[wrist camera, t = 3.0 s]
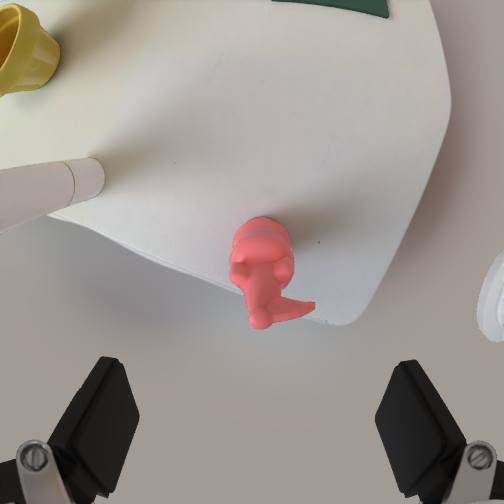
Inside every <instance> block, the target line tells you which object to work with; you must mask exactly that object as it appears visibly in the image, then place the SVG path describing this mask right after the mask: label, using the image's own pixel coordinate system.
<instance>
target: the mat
mask: <svg viewBox="0 0 504 504" xmlns="http://www.w3.org/2000/svg"><path fill="white" fill-rule="evenodd" d="M272 1H283V2H297V3H307V4H316V5H323V6H330V7H336V8H342V9H348V10H353V11H358V12H363V13H367V14H371V15H376V16H380V17H383V18H388V17H389V12H388V6H387V0H272Z"/></svg>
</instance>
